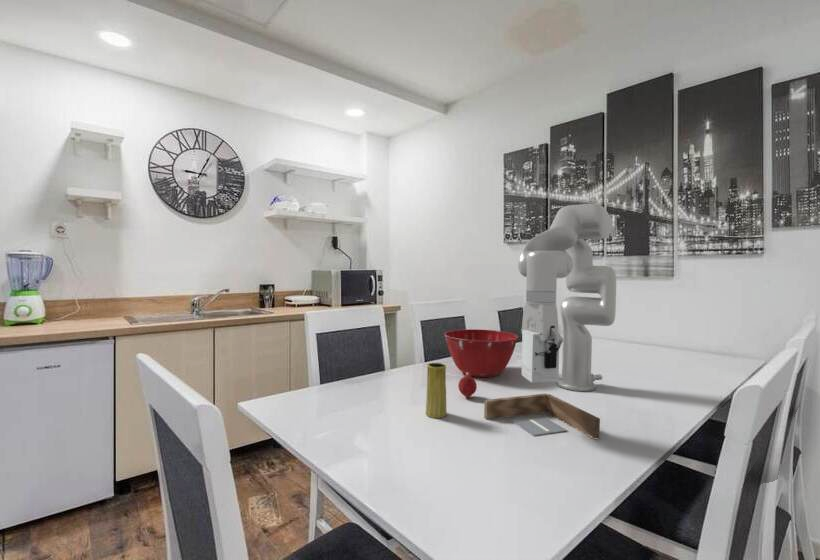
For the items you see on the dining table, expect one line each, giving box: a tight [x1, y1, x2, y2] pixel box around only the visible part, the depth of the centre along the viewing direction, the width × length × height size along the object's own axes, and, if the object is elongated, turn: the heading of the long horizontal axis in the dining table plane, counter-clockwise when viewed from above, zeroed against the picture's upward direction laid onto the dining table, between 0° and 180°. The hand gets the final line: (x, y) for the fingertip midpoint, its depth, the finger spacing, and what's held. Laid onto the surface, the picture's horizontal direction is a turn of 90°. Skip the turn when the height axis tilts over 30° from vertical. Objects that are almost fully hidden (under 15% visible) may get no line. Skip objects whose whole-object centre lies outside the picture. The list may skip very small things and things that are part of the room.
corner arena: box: [483, 393, 601, 439], centre depth 109 cm, size 21×21×5 cm
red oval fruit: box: [458, 373, 477, 399], centre depth 133 cm, size 6×6×8 cm
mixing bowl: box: [444, 328, 519, 378], centre depth 163 cm, size 28×28×16 cm
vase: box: [425, 362, 448, 419], centre depth 118 cm, size 6×6×14 cm
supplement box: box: [521, 330, 560, 383], centre depth 109 cm, size 7×7×13 cm
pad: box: [511, 415, 568, 437], centre depth 110 cm, size 10×10×1 cm
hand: (539, 363), depth 109 cm, fingers closed on supplement box, 8 cm apart
